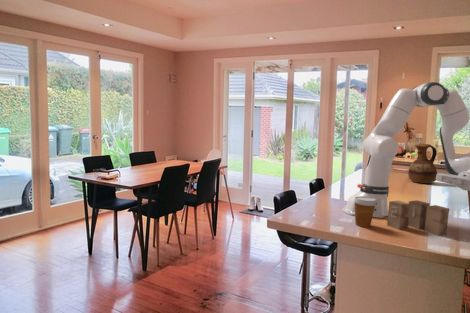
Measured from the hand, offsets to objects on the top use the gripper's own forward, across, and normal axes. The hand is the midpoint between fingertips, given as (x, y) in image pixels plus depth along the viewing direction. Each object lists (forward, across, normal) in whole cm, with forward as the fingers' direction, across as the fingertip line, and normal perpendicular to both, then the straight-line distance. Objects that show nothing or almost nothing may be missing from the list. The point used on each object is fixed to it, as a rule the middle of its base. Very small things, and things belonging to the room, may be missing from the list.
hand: (450, 181), depth 167 cm
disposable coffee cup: (+35, -15, +22) cm, 44 cm away
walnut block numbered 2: (+22, -8, +22) cm, 32 cm away
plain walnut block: (+13, +4, +21) cm, 25 cm away
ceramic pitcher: (-102, -80, +19) cm, 131 cm away
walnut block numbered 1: (+12, -5, +21) cm, 25 cm away
